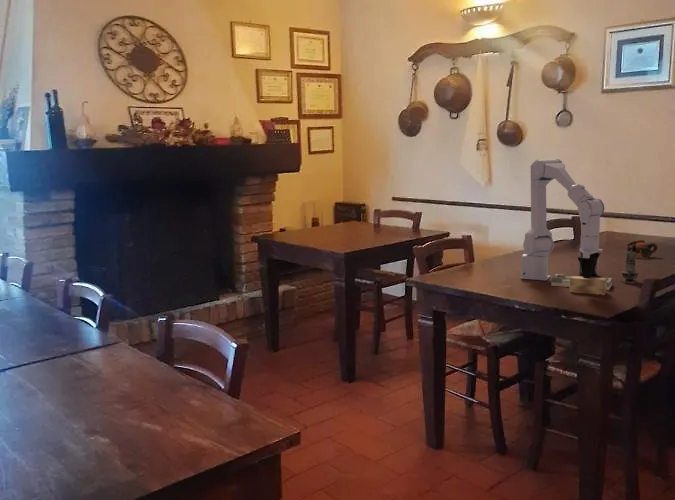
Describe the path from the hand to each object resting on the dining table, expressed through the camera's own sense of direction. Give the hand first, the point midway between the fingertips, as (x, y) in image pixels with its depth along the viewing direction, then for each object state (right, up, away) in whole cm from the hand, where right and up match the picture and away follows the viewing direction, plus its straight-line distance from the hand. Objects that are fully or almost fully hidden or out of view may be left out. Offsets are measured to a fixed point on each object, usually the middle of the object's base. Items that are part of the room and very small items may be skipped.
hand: (588, 275), depth 226 cm
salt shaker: (+20, -3, +15) cm, 25 cm away
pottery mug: (+45, +5, +61) cm, 76 cm away
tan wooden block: (0, -6, +1) cm, 6 cm away
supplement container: (+10, -1, +28) cm, 30 cm away
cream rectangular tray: (+2, -4, +11) cm, 12 cm away
